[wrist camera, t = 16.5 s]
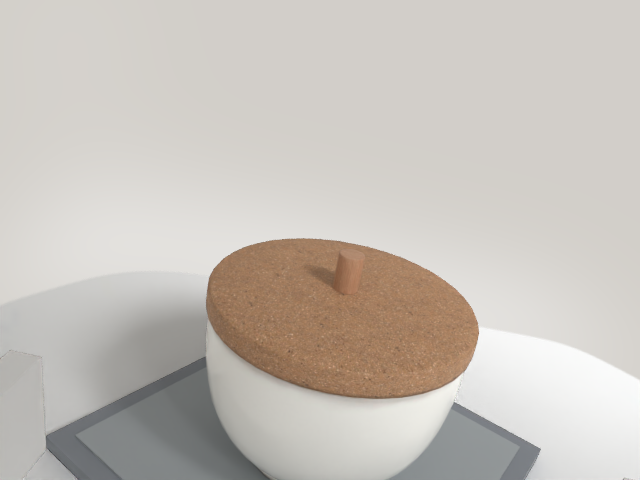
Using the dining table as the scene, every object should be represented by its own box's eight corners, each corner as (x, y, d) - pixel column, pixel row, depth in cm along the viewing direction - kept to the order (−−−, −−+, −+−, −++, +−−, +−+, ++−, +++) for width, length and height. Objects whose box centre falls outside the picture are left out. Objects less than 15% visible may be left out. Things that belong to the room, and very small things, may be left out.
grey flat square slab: (536, 458, 28) (541, 447, 28) (363, 759, 15) (368, 744, 15) (290, 321, 36) (291, 312, 36) (46, 447, 24) (45, 434, 23)
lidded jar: (249, 349, 31) (271, 188, 28) (441, 408, 29) (491, 242, 26) (141, 490, 22) (153, 270, 18) (418, 593, 19) (493, 368, 16)
